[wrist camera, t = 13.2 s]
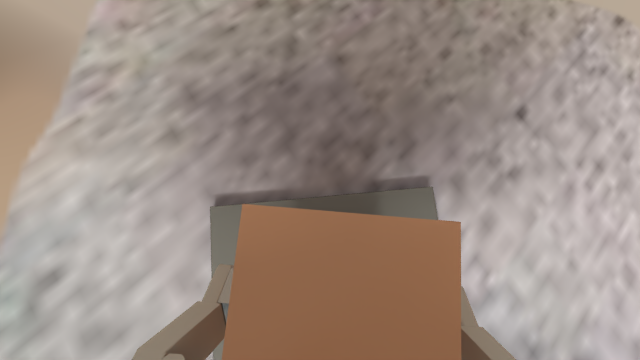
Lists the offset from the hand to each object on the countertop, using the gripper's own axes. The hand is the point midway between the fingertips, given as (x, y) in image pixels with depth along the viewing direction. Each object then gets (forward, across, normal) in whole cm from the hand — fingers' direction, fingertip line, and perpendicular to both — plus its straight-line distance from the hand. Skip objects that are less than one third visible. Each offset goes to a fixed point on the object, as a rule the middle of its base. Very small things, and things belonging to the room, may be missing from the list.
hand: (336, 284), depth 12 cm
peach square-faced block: (+3, 0, +4) cm, 5 cm away
